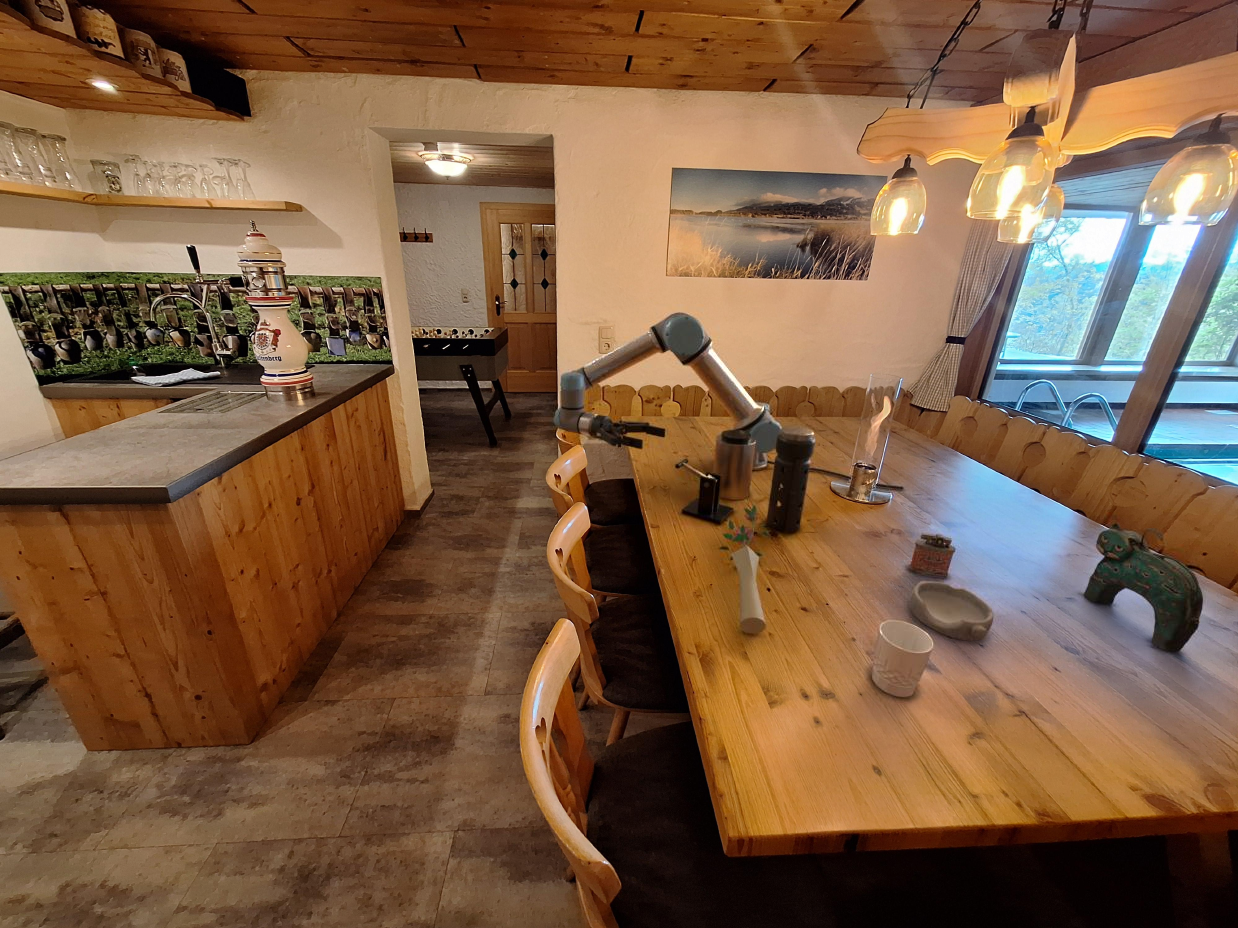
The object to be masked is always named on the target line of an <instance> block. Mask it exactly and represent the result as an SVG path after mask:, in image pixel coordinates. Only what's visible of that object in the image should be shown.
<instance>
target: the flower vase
mask: <svg viewBox="0 0 1238 928" xmlns="http://www.w3.org/2000/svg"><path fill="white" fill-rule="evenodd" d="M743 510H744V512H745V515H744V517H745V520H746V521H747V522H749V523H752V529H751V528H749V526H745V525H744V524H742V525H741V526H738V528H737V529H735V528H736V527H735V525H734V522H733V521H732V520H731V519H729V520H728V528H729V530H730V531H733V534H731V533H722V536H723V537H724V538H725V539H727V540H729V541H731V540H732V541H731V543H738V544H739V545H740V546H741V545H742V546H743V547H742V548H740V549H737V550H736V551H734V552H733V551H732V550H731V549H730V548H729V547H728V546H727V545H723V546H720V547H718V550H724V551H731V553H730V557H729V560H730V561H733V563H734V565H735V568H736V570H737V575H738V580H739V581H738V582H739V607H740V608H739V610H740V611H739V612H740V613H739V617H740V619H739V628H740V629H741V630H742V632H744V633H747V634H753V635H756V634H759V633H763V631H764V630H765V629H766V626H767V623H766V619H765V616H764V611H763V608H762V607H763V606H762V604H761V599H760V595H759V594H760V593H759V590H758V584H757V573H758V568H759V561H760V557H762V556H764V554H763V553H761V552H760V551H754V550H753V549H752V548H751V547H750V546H749V545H750V542H751V543H754V541H755V536H753V535H755V532H758V533H761V535H763V536H764V537H767V538H772V537H771V534H770V533H769V532H768V531H766V530H763V531H761V528H762V527H764V526H766V523H765V524H762V525H760V527H759V530H755V522H757V521H758V518H759V517H758V512H757V507H756V504H754V505H753V506H752V507H751V509H749V508H746V507H744V508H743ZM734 529H735V531H734Z"/></svg>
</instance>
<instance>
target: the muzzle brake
mask: <svg viewBox="0 0 1238 928" xmlns="http://www.w3.org/2000/svg"><path fill="white" fill-rule="evenodd" d="M814 434H815V433H814V431H813V429H811V428H808V427H805V426H800V425H785V426H783V427H782V426H781V433H779V434H778V436H777V441H776V448H775V449H774V450H775V452H776V454H777V455H775V458H774V462H775V463H774V465H773V472H772V479H771V485H770V492H769V493H770V494H769V500H768V506H767V513H766V522H765V526H766V527H768V528H769V529H770V530H772V531H773V532H777V533H780V534H794V533H797V532H798V531H800V528H801V523H802V515H803V510H804V505H805V498H806V493H807V492H806V491H807V486H808V480H809V475H810V470H809V469H810V468H811V459H810V458H812V456H813V455H814V453H815V447H816V439H815V436H814ZM778 504H780V505H778ZM776 520H777V522H776Z"/></svg>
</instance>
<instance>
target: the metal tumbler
mask: <svg viewBox="0 0 1238 928" xmlns="http://www.w3.org/2000/svg"><path fill="white" fill-rule="evenodd" d="M755 443H756V440H755V439H754V438H753V437H751V434H750V433H748V432H745V431H741V430H733V429H725V430H723V431H721V433H720V434H718V435H717V436H716V437H715V445H714V456H713V457H714V458H713V466H712V467H713V468H712V473H716V474H720V475H722V477H721V487H720V497H719V499H724V500H731V501H738V500H745V499H747V498H748V497H749V496H750V490H751V484H752V476H753V475H752V474H753V470H752V468H753V460H754V452H755Z"/></svg>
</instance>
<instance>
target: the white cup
mask: <svg viewBox="0 0 1238 928" xmlns="http://www.w3.org/2000/svg"><path fill="white" fill-rule="evenodd" d="M934 645H935V644H934V640H933V638H932V637H931V636H930V635H929V634H928V633H927V631H925V630H923V629H921V628H920V627H919V626H916V625H914V624H912V623H909V622H907V621H904V620H896V619H889V620H885V621H882V623H880V624H879V627H878V632H877V638H876V643H875V648H874V654H873V661H872V668H871V673H870V674H871V679H872V681H873V683H874V684H875V685H876V687H877V688H879V689H880V690H882V691H883V692H884V693H887V694H889V695H891V696H894V697H899V698H907V697H911V696H913V695H914V694H915V692H916V690H917V687H918V685H919V683H920V681H921V679H922V676H923V674H924V672H925V670H926V667H927V664H928V661H929V660H930V656H931V654H932V651H933V650H934Z"/></svg>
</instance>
